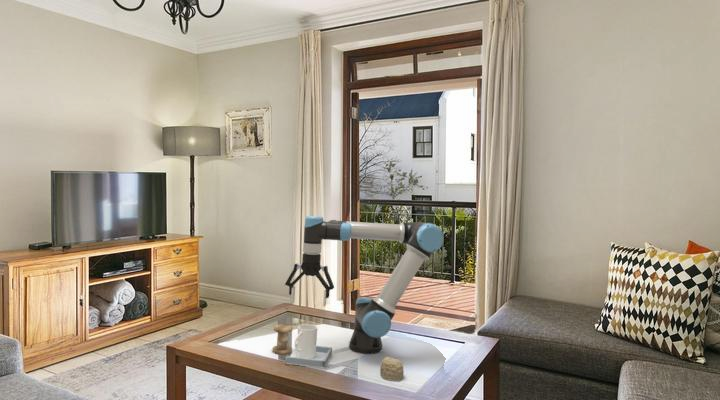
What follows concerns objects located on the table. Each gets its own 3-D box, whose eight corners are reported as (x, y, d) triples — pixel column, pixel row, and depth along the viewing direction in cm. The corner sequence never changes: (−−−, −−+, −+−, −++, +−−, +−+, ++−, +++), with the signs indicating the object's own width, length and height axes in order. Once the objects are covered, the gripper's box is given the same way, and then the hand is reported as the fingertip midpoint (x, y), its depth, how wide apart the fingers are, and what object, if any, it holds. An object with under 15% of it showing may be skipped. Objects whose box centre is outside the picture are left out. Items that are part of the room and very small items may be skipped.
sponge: (385, 381, 179) (372, 360, 178) (405, 368, 179) (393, 347, 179) (388, 391, 169) (375, 369, 169) (410, 377, 170) (396, 355, 170)
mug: (300, 363, 179) (302, 333, 179) (285, 357, 184) (287, 328, 184) (320, 356, 188) (322, 327, 188) (305, 350, 193) (307, 323, 193)
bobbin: (293, 349, 197) (294, 325, 197) (288, 355, 189) (289, 330, 189) (275, 347, 198) (277, 323, 198) (269, 353, 190) (271, 328, 190)
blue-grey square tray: (331, 354, 193) (332, 347, 193) (324, 369, 176) (324, 361, 176) (295, 350, 195) (296, 343, 195) (284, 364, 178) (285, 357, 178)
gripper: (342, 254, 188) (339, 304, 188) (285, 249, 191) (281, 299, 191) (340, 256, 181) (336, 309, 181) (280, 251, 184) (276, 303, 184)
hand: (308, 304), depth 186 cm, fingers open, 13 cm apart
